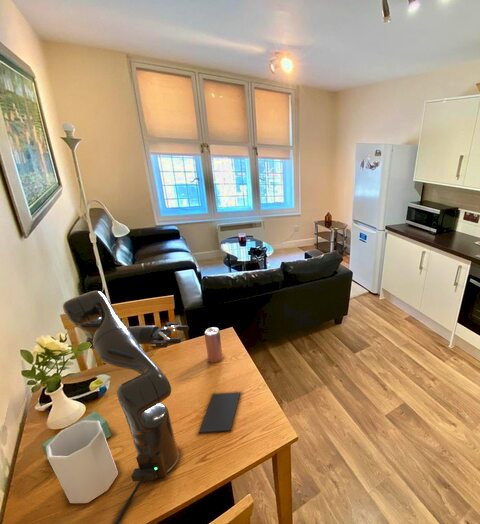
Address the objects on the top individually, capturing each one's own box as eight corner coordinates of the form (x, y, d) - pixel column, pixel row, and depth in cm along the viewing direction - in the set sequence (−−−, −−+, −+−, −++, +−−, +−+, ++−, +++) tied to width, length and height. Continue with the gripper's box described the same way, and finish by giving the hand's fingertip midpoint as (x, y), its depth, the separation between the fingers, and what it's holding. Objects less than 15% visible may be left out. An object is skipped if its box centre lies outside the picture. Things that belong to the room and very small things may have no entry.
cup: (113, 494, 79) (95, 449, 72) (60, 513, 74) (35, 467, 67) (122, 456, 88) (107, 413, 81) (75, 471, 84) (55, 427, 77)
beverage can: (217, 364, 127) (213, 336, 121) (205, 361, 128) (201, 333, 122) (225, 355, 132) (222, 328, 126) (213, 352, 133) (210, 325, 127)
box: (47, 460, 86) (39, 443, 83) (101, 425, 97) (95, 409, 94) (59, 473, 83) (51, 456, 80) (113, 435, 94) (107, 419, 91)
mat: (230, 430, 99) (230, 429, 98) (199, 433, 97) (199, 432, 97) (240, 393, 113) (240, 392, 113) (213, 395, 112) (213, 394, 111)
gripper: (131, 338, 113) (176, 337, 115) (149, 317, 126) (189, 317, 128) (135, 353, 115) (179, 352, 118) (153, 331, 128) (191, 331, 131)
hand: (184, 334), depth 123 cm, fingers open, 8 cm apart
